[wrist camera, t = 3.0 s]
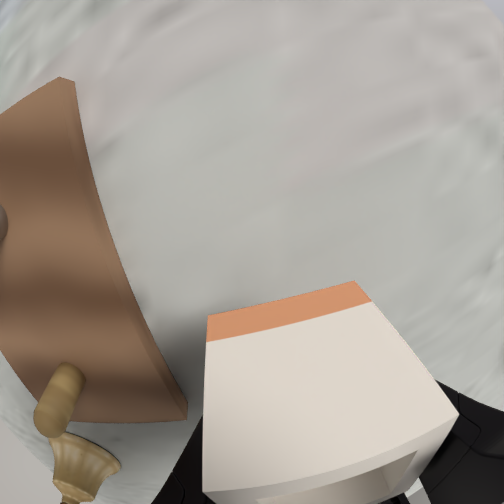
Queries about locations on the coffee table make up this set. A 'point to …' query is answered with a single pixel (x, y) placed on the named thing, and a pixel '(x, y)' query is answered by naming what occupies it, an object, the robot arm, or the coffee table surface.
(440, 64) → the coffee table surface
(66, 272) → the pin board
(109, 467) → the hand bell
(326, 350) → the sleeve
